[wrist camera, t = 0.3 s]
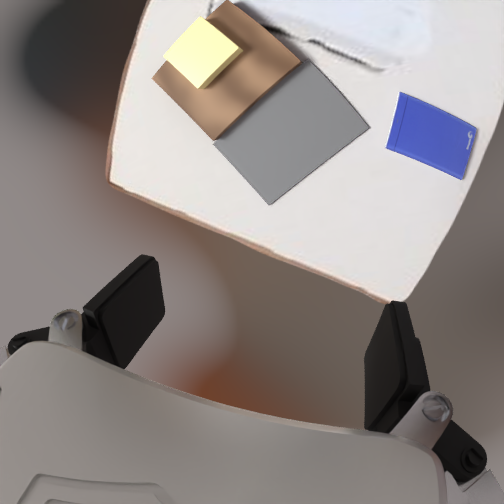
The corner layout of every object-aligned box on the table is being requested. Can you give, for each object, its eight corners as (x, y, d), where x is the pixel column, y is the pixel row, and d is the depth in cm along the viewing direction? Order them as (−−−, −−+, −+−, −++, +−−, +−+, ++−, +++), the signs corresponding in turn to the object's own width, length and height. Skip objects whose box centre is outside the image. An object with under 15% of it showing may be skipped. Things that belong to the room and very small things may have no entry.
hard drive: (477, 128, 27) (400, 91, 28) (462, 180, 31) (385, 148, 32) (472, 127, 28) (397, 92, 30) (457, 178, 32) (383, 147, 34)
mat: (307, 59, 30) (307, 59, 30) (368, 127, 33) (369, 127, 32) (213, 143, 39) (212, 144, 39) (269, 204, 41) (268, 205, 41)
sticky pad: (206, 19, 29) (200, 16, 27) (243, 50, 30) (238, 47, 28) (170, 58, 32) (163, 56, 31) (203, 89, 34) (197, 88, 32)
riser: (231, 3, 28) (227, -1, 27) (302, 63, 31) (300, 61, 29) (158, 79, 36) (151, 78, 34) (218, 139, 39) (213, 140, 37)
